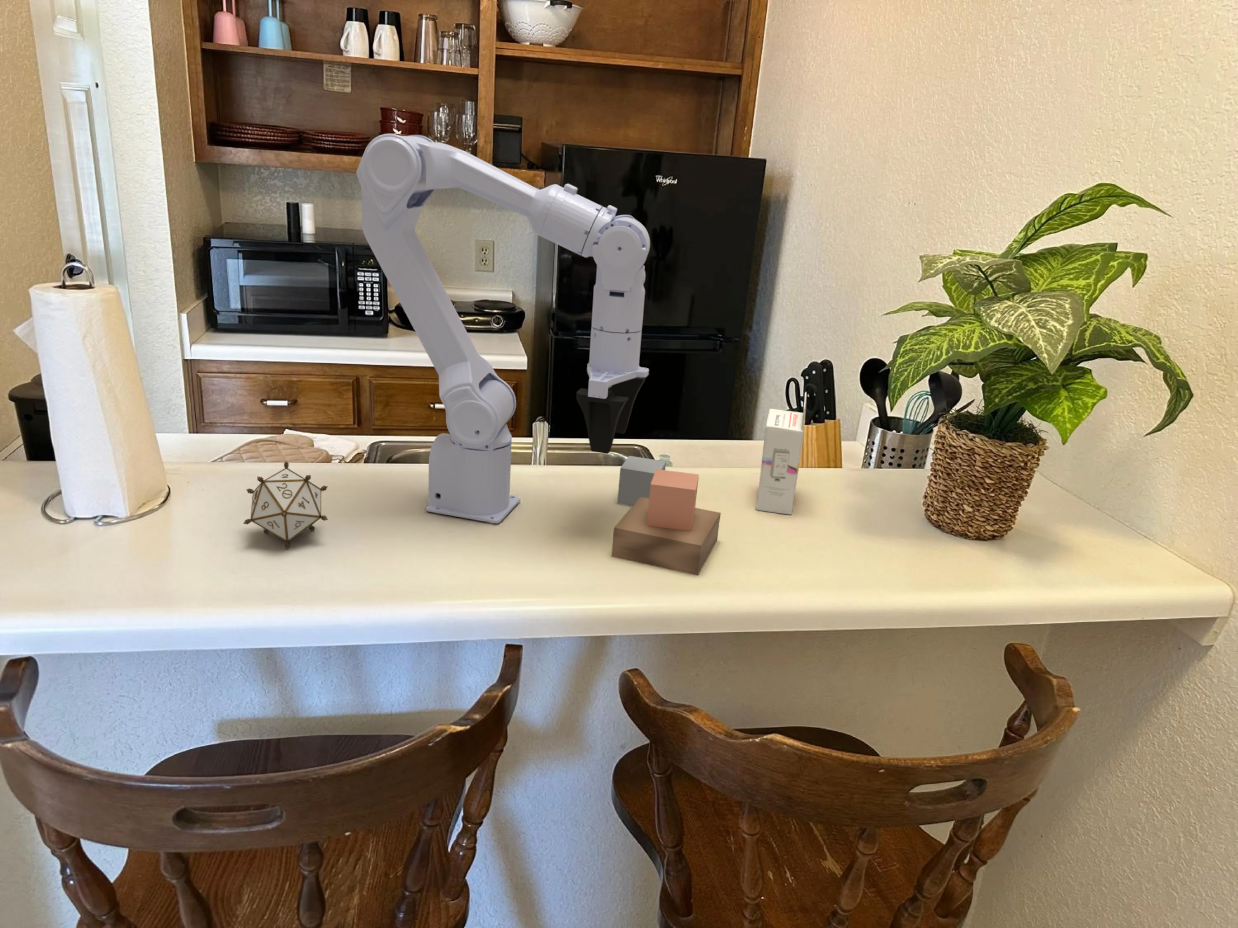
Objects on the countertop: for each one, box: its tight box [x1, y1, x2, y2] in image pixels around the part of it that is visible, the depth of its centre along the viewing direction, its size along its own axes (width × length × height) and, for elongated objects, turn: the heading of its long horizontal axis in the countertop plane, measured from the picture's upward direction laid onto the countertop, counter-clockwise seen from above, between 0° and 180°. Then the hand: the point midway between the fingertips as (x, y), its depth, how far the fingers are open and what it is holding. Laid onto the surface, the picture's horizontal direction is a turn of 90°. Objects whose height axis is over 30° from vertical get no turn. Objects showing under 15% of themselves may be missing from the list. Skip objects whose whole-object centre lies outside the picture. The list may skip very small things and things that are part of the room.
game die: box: [242, 460, 329, 550], centre depth 95 cm, size 9×8×10 cm
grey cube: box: [617, 455, 667, 507], centre depth 114 cm, size 5×5×5 cm
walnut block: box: [611, 497, 721, 576], centre depth 101 cm, size 10×10×4 cm
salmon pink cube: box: [647, 469, 700, 531], centre depth 100 cm, size 5×5×5 cm
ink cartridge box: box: [755, 391, 808, 515], centre depth 115 cm, size 9×5×15 cm, turn 168°
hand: (608, 441), depth 104 cm, fingers open, 7 cm apart
